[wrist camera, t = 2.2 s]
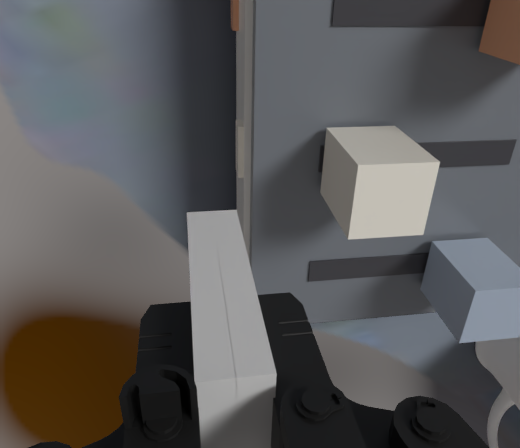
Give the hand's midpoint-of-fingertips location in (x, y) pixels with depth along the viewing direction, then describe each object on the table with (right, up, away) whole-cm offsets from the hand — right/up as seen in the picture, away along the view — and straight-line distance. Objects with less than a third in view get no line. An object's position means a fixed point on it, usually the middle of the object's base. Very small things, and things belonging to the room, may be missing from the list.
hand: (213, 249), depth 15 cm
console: (+8, +6, +11) cm, 15 cm away
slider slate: (+11, -1, +10) cm, 15 cm away
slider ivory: (+6, +4, +6) cm, 9 cm away
